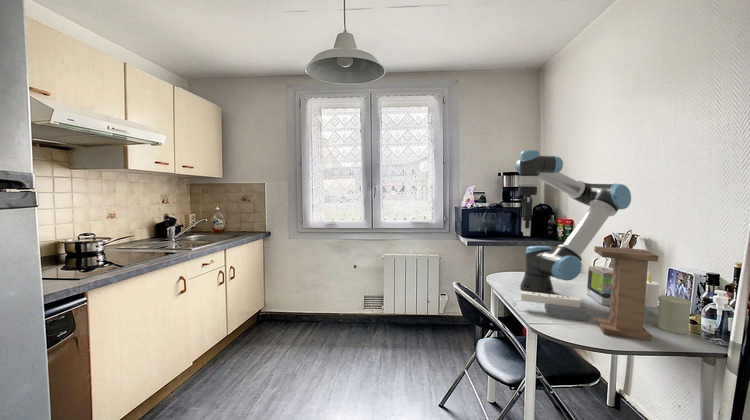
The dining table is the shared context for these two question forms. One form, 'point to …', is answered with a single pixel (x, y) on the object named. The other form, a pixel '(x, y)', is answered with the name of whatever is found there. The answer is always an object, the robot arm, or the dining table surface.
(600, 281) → the tea box
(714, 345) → the dining table surface
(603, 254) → the walnut pedestal
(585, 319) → the charcoal platform
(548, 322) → the dining table surface
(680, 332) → the can
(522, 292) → the domino bar
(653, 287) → the candle
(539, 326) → the dining table surface
